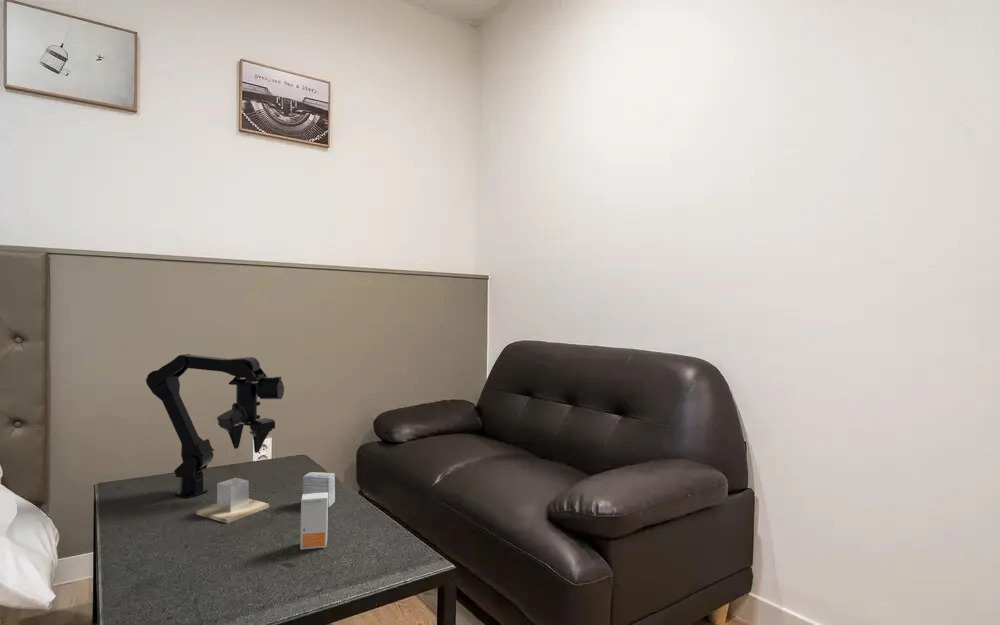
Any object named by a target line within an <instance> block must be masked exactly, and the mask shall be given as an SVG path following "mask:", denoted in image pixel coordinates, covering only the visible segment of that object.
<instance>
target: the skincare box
mask: <svg viewBox="0 0 1000 625" xmlns="http://www.w3.org/2000/svg"><path fill="white" fill-rule="evenodd" d="M328 509H329V507H328V492H325V493H312V494H303V493H302V495H301V500H300V539H299V547H300V548H299V549H300V550H301V551H302V550H311V549H322V548H323V549H325V548H326V549H327V543H328V525H329V524H328V521H329V520H328V516H329V515H328V511H329V510H328Z"/></svg>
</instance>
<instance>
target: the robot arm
mask: <svg viewBox="0 0 1000 625" xmlns="http://www.w3.org/2000/svg"><path fill="white" fill-rule="evenodd" d="M188 369H192V370H193V369H194V370H203V371H212V372H214V371H215V372H222V373H225V374H228V375H230V376H233V379H232V380H230V381H229V382H228V385H230V386H232V385H233V386H235V385H236V387H235V389H236V390H235V397H236V398H235V402H233V403H232V405H231V409H230V410H227V411H225V412H223V413H222V414H220V415H218V416H217V417H216V420H217V423H218V426H219V427H220V428H222V429H223V430H225V431H226V432H227V433H228V435H229V438H230V440H231V444H232V446H233V449H235V450H237V449H239V446H240V444H241V439H242V435H243V429H244V426H247V427H248V426H249V429H250V430H251V431H249V433H250V434H251V436H253V438H252V439H253V449H254V453H255V454H257V453H260V450H261V448H262V447H263V444H264V443H265V440H266V439H267V437H268V435H269V433H270V432H272V431H273V430H275V429H276V421H275V420H274V419H273V418H269V417H268V418H266V417H265V418H261V415H260V414H258V406H261V401H258V398H259V399H260V400H282V399H283V397H284V393H285V386H284V383H283V381H282V376H272V377H271V376H267V374H266V373H265V371H264V370H263V369H262V368H261V364H260V362H259V360H258V359H257V358H256V357H253V356H247V357H246V356H245V357H235V358H223V357H213V356H204V355H203V356H202V355H197V354H196V355H195V354H194V355H193V354H190V353H185V354H179V355H177V356H176V357H175V358H174V359H172V360H171V361H169V362H168V363H166V364H165V365H162V366H161V367H160V368H159V369H158V370H157V369H155V370H152V371H151V372H149V374H147V377H146V379H145V383H146V385H147V387H148V388H149V390H150V391H151V393H152V394H153V395H154V396H156V397H157V398H158V400H160V401H161V402H162V404H163V406H164V408H165V410H166V413H167V415H168V417H169V419H170V422H171V423H172V426H173V428H174V430H175V432H176V435H177V437H178V439H179V441H180V443H181V446H180V447H181V452H180V456H181V460H182V462H181V463H180V464H179V465H178V466H177V467H176V468H175V469H174V475H175V477H176V478H179V491H175V493H174V495H175V496H179V497H180V496H181V497H184V498H187V499H188V498H192V497H195V496H199V495H201V494H205V493H207V492H209V490H208V489H206V488H204V472H203V471H204V470H207V468H208V465H209V464H210V463H211V462H212V461H213V458H214V451H215V449H214V448H213V447H212V445H211V442H210V439H209V438H207V439H203V438H201V437H200V436H199V434H198V432H197V430H196V428H195V426H194V423H193V421H192V418H191V417H190V414H189V412H188V410H187V408H186V405H185V404H184V402H183V399H182V397H181V395H180V388H181V384H180V380H179V379H180V377H181V376H182V375H184V374H185V373H186V372H187V370H188Z"/></svg>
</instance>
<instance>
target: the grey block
mask: <svg viewBox="0 0 1000 625" xmlns="http://www.w3.org/2000/svg"><path fill="white" fill-rule="evenodd" d="M249 482H250V481H249V480H247V479H243V478H239V477H234V478H229V479H227V480H224V481H220V482H217V485H216V489H217V490H216V491H217V492H216V503H217V509H220V510H224V511H227V512H233V511H236V510H238V509H241V508H244V507H246V506H249V499H250V498H249V496H250V493H249V491H250V490H249V489H250V488H249V487H250V484H249Z"/></svg>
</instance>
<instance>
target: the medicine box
mask: <svg viewBox="0 0 1000 625" xmlns="http://www.w3.org/2000/svg"><path fill="white" fill-rule="evenodd" d="M335 487H336V473H334V472H319V471H318V472H312V471H311V472H308V473H307V474H305V475H304V476H302V494H312V493H325V492H328V508H330V507H331V506H332V505H333V504H334V503H335V501H336V496H335V495H336V492H335V490H336V488H335Z"/></svg>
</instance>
